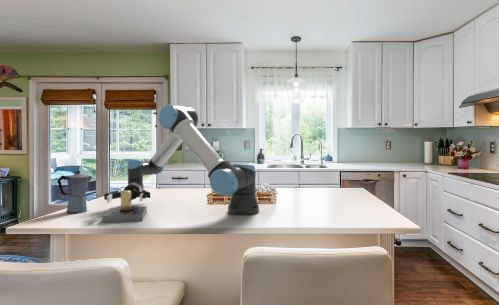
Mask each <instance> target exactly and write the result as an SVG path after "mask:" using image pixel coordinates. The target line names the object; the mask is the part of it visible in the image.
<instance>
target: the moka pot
mask: <svg viewBox="0 0 499 305" xmlns="http://www.w3.org/2000/svg"><path fill="white" fill-rule="evenodd" d="M92 179H93V176H91V175H87V174H81V170H76V174H72V175H71V174H70V175H61V176H60V177H59V178H58V179H57V185H58V187H59V190H60V193H61V195H62V196H67V195H68V194H69V197H68V203H67V207H66V213H71V214H78V213H84V212H85V213H86V212H87V210H88V207H87V196H86V195H87V190H88V186H89V184H90V181H91V180H92ZM62 180H64V181H67V186H68V192H69V193H68V192H65V191H64V188H63V186H62V182H61V181H62Z"/></svg>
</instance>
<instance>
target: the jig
mask: <svg viewBox="0 0 499 305" xmlns="http://www.w3.org/2000/svg"><path fill="white" fill-rule="evenodd" d="M147 212H148V208H147V206H131V212H121V207H110V208H109V210H107V211H106V212H105V213H104V214H103V215H102V224H105V223H106V224H107V223H108V224H109V223H111V224H112V223H130V222H143V220H144V218H145V217H146V216H147Z"/></svg>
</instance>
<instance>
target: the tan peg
mask: <svg viewBox="0 0 499 305" xmlns="http://www.w3.org/2000/svg"><path fill="white" fill-rule="evenodd" d="M123 190H124V189H123ZM123 190H120V191H121V198H120V208H121V212H131V207H132V200H131V190H124V191H123Z"/></svg>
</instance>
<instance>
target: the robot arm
mask: <svg viewBox="0 0 499 305" xmlns="http://www.w3.org/2000/svg"><path fill="white" fill-rule="evenodd" d="M158 122H159V125H160V126H161V127H162V129H166V130H169V131H170V132H171V133H170V134H169V135H168V137H167V138H166V139H165V140H164V142H162V144H161V146H160V147H159V148H158V149H157V151H156V152H155V153H154V155H153V156H152V157H151V159H149V160H148V161H143V159H141V158H131V159H128V160H127V185H126V186H125V187H124V189H123V190H120V191H119V190H115V191H111V192H108V193H107V192H106V193H104V196H103V198H104V200H106V203H111V202H112V201H113V199H121V191H124V190H131V201H133V200H136V199H138V198H139V202H143V200H144V199H145V200H146V199H151V192H150V191H147V190H145V189H144V188H145V186H144V184H143V183H144V176H152V175H159V174H162V172H163V171H164V167H165V164H166V162H168V160H169V159H170V157H172V155H173V154H174V153H175V151H176V150H177V149H178V148H179V147H180V146H181V144H182V143H184V144H185V145H186V146H187V148H188V149H189V150H190V151H191V152H192V154H194V156H195V157H196V158H197V160H198V161H199V162H200V163H201V164H202V166H203V167H204V168H205V169H206V171H207V177H208V178H209V182H210V183H209V185H210V188H211V189H212V191H213V192H214V193H215V194H217V195H218V196H230V200H229V203H228V205H227V212H228V213H229V214H232V215H238V216H239V215H241V216H243V215H245V216H247V215H255V214H258V213H259V212H260V205H259V203H258V200H257V197H256V167H255V165H253V164H249V163H248V164H245V163H231V162H230V161H229V160H227V159H223V158H222V157H221V156H220V155H219V153H217V151H216V150H215V149H214V147H213V146H212V145H211V144H210V143H209V142H208V141H207V139H206V138H205V137H204V136H203V134H202V133H201V132H200V131H199V129H198V128H197V126H198V123H199V115H198V113H197V111H196V110H195V108H193V107H190V106H184V105H178V104H173V103H171V104H166V105H164V106H162V107H161V109H160V111H159V114H158Z"/></svg>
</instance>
